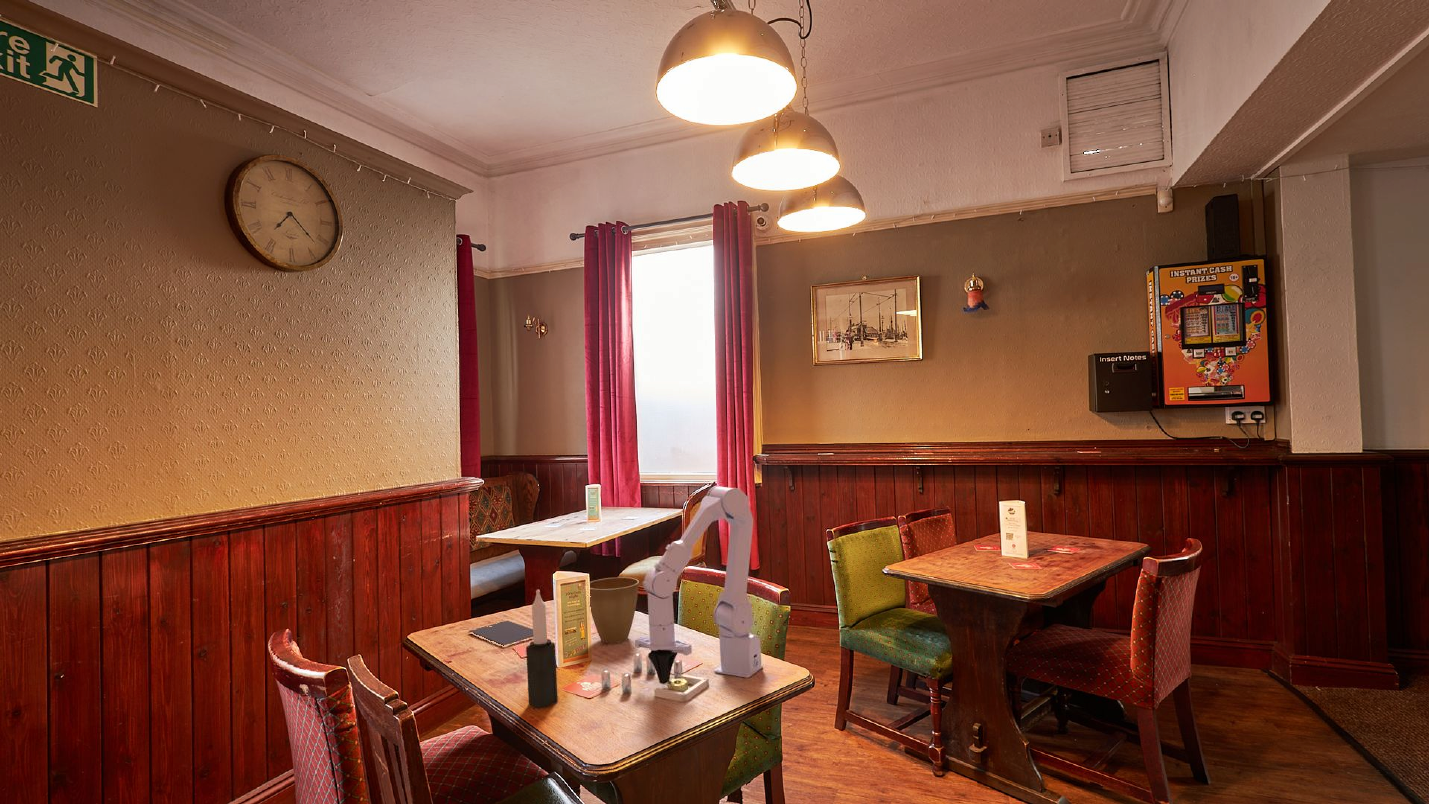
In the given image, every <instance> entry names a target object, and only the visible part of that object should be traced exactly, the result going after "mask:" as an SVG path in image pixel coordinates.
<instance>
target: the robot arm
mask: <svg viewBox="0 0 1429 804" xmlns="http://www.w3.org/2000/svg"><path fill="white" fill-rule="evenodd" d="M749 503H750V497H748V496H747V495H746V494H745V492H744V491H743V490H742V489H740V488H738V487H737V488H736V487H728V486H726V487H725V486H721V485H715V486H713V487H711V488H710V489H708V491H707V493H706V495H705V496H704V497H703V498H702V499H701V502H700V504H699V505H700V506H699V508H698V509H697V511H696V513H695V514H694V516H693V518H692V519H691V520H690V523H689V524H688V526H687V527H686V529H685V531H684V532H683V534H682V535H681V536H680V537H681V538H680V539H678V540H676V541H672V542H671V543H670V544H667V545H666V547H665V550H666V551H665V552H664V554H663V555H662V556H661V558H660V560H659V561H658V562H657V563H655V564H654V565H653V566H654V568H652V570H649V571H648V572H647V573H646V574H645V576H644V581H642V586H643V588H644V590H645V591H646V592H647V608H648V609H647V611H648V628H649V629H648V630H649V637H648V636H647V637H646V636H645V637H643V636H639V637H637V638H635V639H634V647H635V649H640V648H643V649H649V650H650V652H648V654H647V656H648V657H649V659H650V660H651V662H652V663H653V665H654V667H655V673H656V675H657V678H658V681H659V684H661V685H667V683H668V682H669V681H670V678H671V672H672V669H673V666H674V660H676V657H677V655H678V654H681V655H683V656H688V655H691V654H692V653H693V652H692V650H693V649H692V644H691V643H686V642H683V641H681V640H679V639H676V635H675V633H676V632H675V617H674V616H675V615H674V601H673V594H674V592H675V591H676V590H677V587H678V585H677V584H678V583H677V582H678V579H679V577H680V575H681V574H682V572H683V571H684V570H685V568H686V566H687V565H688V563H689V562H690V560H691V558H692V557H693V547H695V545H696V543H697V542H698V541H699V539H700V538H701V537H702V535H703V534H704V533H705V532H706V531H707V529H708V527H709V526H710V525H711V524H712V523H713V522H715V521H719V520H722V519H724V520H725V521H726V522H727V523H728V524H729V526H730V531H729V540H728V549H727V559H726V568H725V570H726V571H725V579H724V580H725V581H724V586H723V587H724V589H723V590H722V592H721V593H720V594H719V596H718V599H717V600H718V601H717V604H716V606H715V608H714V610H713V615H712V616H713V620H714V623H715V624H716V625H718V635H719V653H720V666H718V667H717V668H715V669H714V670H713V672H714V673H717V674H723V675H727V676H734V677H740V678H741V677H742V678H745V679H748V678H750V677H751V676H753V675H754V674H755V673H757V672H758V671H760V670H761V669H762V668H763V667H764V665H763V664H762V651H761V640H760V637H759V636H758V635H757V634H753V633H752V632H750V631H751V629H752V628H753V626H754V615H753V612H752V604H753V603H752V602H751V600H750V597H749V596H748V594H747V591H748V579H749V570H750V561H751V560H750V558H751V550H752V549H751V548H752V538H753V528H754V517H753V514H752V511H751V508H750V506H749Z"/></svg>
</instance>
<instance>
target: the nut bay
mask: <svg viewBox="0 0 1429 804" xmlns="http://www.w3.org/2000/svg"><path fill="white" fill-rule="evenodd" d="M677 679H685V680H686V681H687V682H688V685H692V686H691V687H688V690H687V691H685V692H684V693H682V692H676V691H671V690H668V689H665V688H661V687H656V688H654V697H657V698H661V699H662V698H663V699H667V700H672V701H677V702H682V703H686V702H687V701H689V700H690V699H692V698H693V697H695V696H696V695H697V694H699V693H700V692H702V691H704V690H705V689H706V688H707V687H709V686H710V684H709V683H710V682H709V678H706V677H701V676H699V677H698V676H694V675H687V674H678V675H677ZM701 690H702V691H701Z"/></svg>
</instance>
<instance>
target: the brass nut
mask: <svg viewBox="0 0 1429 804" xmlns="http://www.w3.org/2000/svg"><path fill="white" fill-rule="evenodd" d="M666 685H667V687H666V688H667V690H671V691H676V692H682V693H684V692H685V691H687V690H688V689H689V684H688V682H687V681H686V680H685V679H674V678H672V679H671V680H669V682H667V683H666Z"/></svg>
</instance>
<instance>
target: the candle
mask: <svg viewBox="0 0 1429 804" xmlns="http://www.w3.org/2000/svg"><path fill="white" fill-rule="evenodd" d="M535 593H536V595H535V598H534V601H533V603H532V605H531V614H532V615H531V618H532V629H533V639H532V640H533V641H530V642H529V645H527V646H526V647H525V650H526V651H525V653H526V655H525V656H526V670H527V671H526V673H527V690H528V692H527V693H528V706H529V705H530V706H529V707H531V708H535V709H540V708H541V709H542V708H543V709H546V708H548V707H549V705H550V706H551V705H554V704H556V703H557V702H558V701H559V699H558V681H557V678H558V677H557V661H556V660H557V659H556V643H555V642H552V640H551V639H549V638H548V631H547V629H548V628H547V611H546V610H547V609H546V603H545V602H544V601H543V599H542V595H541V594H540V593H541V591H540V589H536V591H535ZM541 709H540V710H541Z"/></svg>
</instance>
